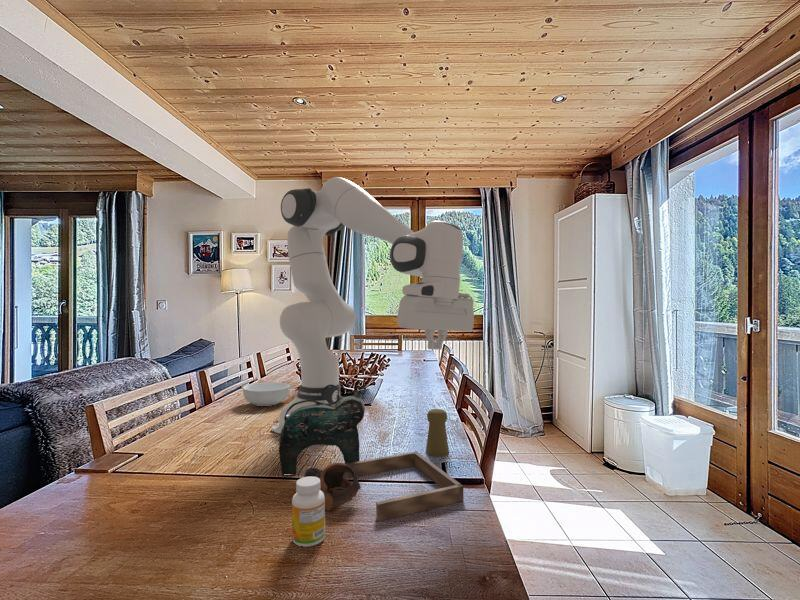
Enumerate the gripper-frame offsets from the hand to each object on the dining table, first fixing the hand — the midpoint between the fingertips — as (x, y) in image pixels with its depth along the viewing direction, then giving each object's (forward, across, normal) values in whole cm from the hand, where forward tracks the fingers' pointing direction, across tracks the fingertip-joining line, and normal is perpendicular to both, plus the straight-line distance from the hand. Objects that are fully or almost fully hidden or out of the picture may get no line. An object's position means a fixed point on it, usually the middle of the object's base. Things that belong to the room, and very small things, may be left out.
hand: (434, 349), depth 102 cm
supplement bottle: (+31, +33, +14) cm, 47 cm away
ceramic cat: (+31, +20, -12) cm, 39 cm away
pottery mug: (+30, +24, +3) cm, 39 cm away
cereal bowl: (+34, +14, -82) cm, 90 cm away
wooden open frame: (+29, +10, +6) cm, 31 cm away
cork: (+28, -9, -7) cm, 30 cm away
